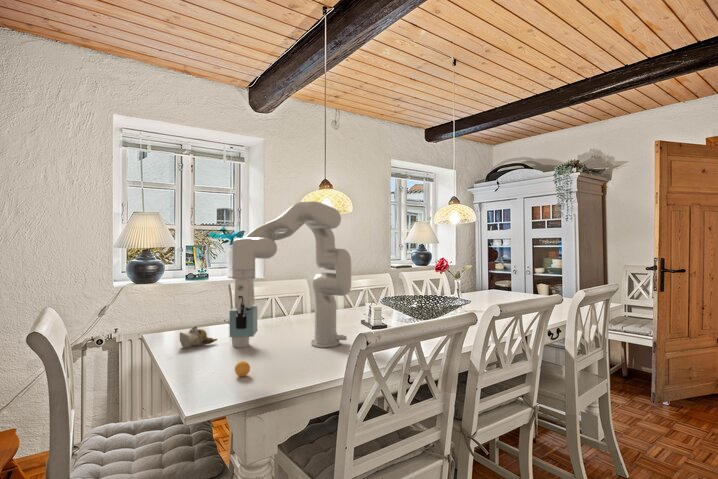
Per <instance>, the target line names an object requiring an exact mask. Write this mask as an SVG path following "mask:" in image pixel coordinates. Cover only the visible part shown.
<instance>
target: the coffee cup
mask: <svg viewBox="0 0 718 479" xmlns="http://www.w3.org/2000/svg"><path fill="white" fill-rule="evenodd" d="M231 345H232V347H233V348H246V347H248V346H249V345H250V337H231Z"/></svg>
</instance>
